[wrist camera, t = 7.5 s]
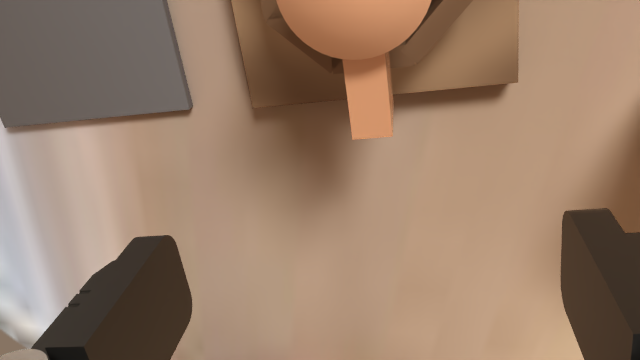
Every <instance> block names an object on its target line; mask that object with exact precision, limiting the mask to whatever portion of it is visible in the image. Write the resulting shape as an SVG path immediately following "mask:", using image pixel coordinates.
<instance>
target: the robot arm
mask: <svg viewBox="0 0 640 360" xmlns="http://www.w3.org/2000/svg"><path fill="white" fill-rule="evenodd" d="M561 292H562V299H563V304H564V308H565V311H566V314H567V316H568V319H569V321H570V324H571V327H572V329H573V332H574V334H575V337H576V339H577V342H578V344H579V347H580V349H581V352H582V355H583V357H584V360H640V232H639V233H625V232H624V231H623V229H622V228H621V226H620V225H619V223H618V222H617V220H616V219H615V217H614V216H613V214H612V213H611V212H610V210H609V209H607V208H602V209H587V210H571V211H565V212H564V215H563V220H562V250H561ZM191 313H192V297H191V292H190V289H189V286H188V282H187V279H186V275H185V272H184V268H183V265H182V262H181V258H180V255H179V251H178V248H177V245H176V242H175V240H174V239H173V238H172V237H171V236H169V235H163V236H147V237H136V238H134V239H133V240H132V241H131V242H130V243H129V244H128V246H127V247H126V248H125V249H124V251H123V252H122V253H121V254H120V256H119V257H118V258H117V259H116V260H115V261H112V262H111V263H109V264H108V265H106V266H105V267H104V268H102V269H101V270H99V271H98V272H96V273H95V274H94V275H92V277H91V278H90V279H89V280H88V281H87V282H86V284H85V285H84V286H83V287H82V288H81V290H80V293H79V294H76V296H75V297H74V298H73V299H72V300H71V301H70V303H69V306H68V307H65V309H64V310H63V311H62V312H61V313H60V314H59V316H58V317H57V318H56V319H55V320H54V322H53V323H52V324H51V325H50V326H49V328H48V329H47V330H46V331H45V332H44V333H43V335H42V336H41V337H40V338H39V339H38V341H37V342H36V343H35V344H34V345H33V346H32V348H31V349H22V350H17V351H13V352H10V353H7V354H4V355H2V356H0V360H170V359H171V357H172V355H173V353H174V351H175V349H176V347H177V345H178V343H179V341H180V339H181V338H182V336H183V334H184V332H185V330H186V328H187V326H188V324H189V322H190V318H191Z"/></svg>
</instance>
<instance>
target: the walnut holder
mask: <svg viewBox="0 0 640 360" xmlns="http://www.w3.org/2000/svg"><path fill="white" fill-rule="evenodd" d="M231 2H232V7H233V12H234V17H235V22H236V27H237V32H238V37H239V42H240V47H241V52H242V57H243V62H244V67H245V72H246V77H247V82H248V87H249V92H250V97H251V102H252V107H253V108H260V107H270V106H280V105H291V104H301V103H311V102H322V101H332V100H342V99H347V92H346V84H345V76H344V68H343V60H342V59H339V58H334V57H330V56H328V55H325V54H322V53H320V52H318V51H316V50H314V49H313V48H311V47H310V46H308V45H307V44H305V43H304V42H303V41H302V40H301V39H300V38H299V37H297V36H296V34H295V33H294V32H293V31H292V30H291V29H290V27H289V26H288V24H287V23H286V21H285V20H284V18H283V16H282V14H281V12H280V10H279V7H278V4H277V1H276V0H231ZM518 23H519V0H431V3H430V6H429V8H428V11H427V13H426V15H425V16H424V18H423V20H422V22H421V23H420V25H419V26H418V27H417V29H416V30H415V31H414V32H413V33H412V34H411V35H410V36H409V37H408V38H407V39H406V40H405V41H404V42H403V43H401V44H400V45H399V46H397V47H395V48H394V49H392V50H391V51H389V58H390V69H391V81H392V92H393V95H394V94H404V93H415V92H425V91H435V90H446V89H456V88H466V87H477V86H487V85H497V84H508V83H518Z"/></svg>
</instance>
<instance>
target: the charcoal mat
mask: <svg viewBox="0 0 640 360" xmlns="http://www.w3.org/2000/svg"><path fill="white" fill-rule="evenodd" d="M192 106H193V104H192V100H191V96H190V92H189V88H188V84H187V80H186V76H185V72H184V68H183V64H182V60H181V56H180V52H179V48H178V44H177V40H176V36H175V32H174V28H173V24H172V20H171V16H170V12H169V8H168V4H167V0H0V117H1V120H2V122H3V125H4V127H5V128H6V127H16V126H26V125H36V124H47V123H57V122H67V121H77V120H87V119H97V118H107V117H118V116H128V115H138V114H148V113H158V112H168V111H179V110H189V109H190V108H191V107H192Z"/></svg>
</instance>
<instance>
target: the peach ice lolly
mask: <svg viewBox="0 0 640 360" xmlns="http://www.w3.org/2000/svg"><path fill="white" fill-rule="evenodd" d="M276 1H277V4H278V7H279V10H280V12H281V14H282V16H283V18H284V20H285V21H286V23H287V24H288V26H289V27H290V29H291V30H292V31H293V32H294V33H295V34H296V36H297V37H299V38H300V39H301V40H302V41H303V42H304V43H305V44H307V45H308V46H310V47H311V48H313V49H314V50H316V51H318V52H320V53H322V54H325V55H328V56H330V57H334V58H339V59H342V60H343V68H344V76H345V84H346V92H347V100H348V108H349V116H350V124H351V132H352V140H355V139H367V138H379V137H391V136H393V104H394V103H393V92H392V81H391V69H390V58H389V51H391V50H392V49H394V48H395V47H397V46H399V45H400V44H401V43H403V42H404V41H405V40H406V39H407V38H408V37H409V36H410V35H411V34H412V33H413V32H414V31H415V30H416V29H417V27H418V26H419V25H420V23H421V22H422V20H423V18H424V16H425V15H426V13H427V11H428V8H429V6H430V3H431V0H276Z"/></svg>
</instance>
